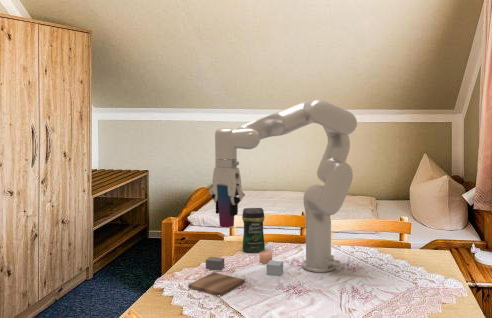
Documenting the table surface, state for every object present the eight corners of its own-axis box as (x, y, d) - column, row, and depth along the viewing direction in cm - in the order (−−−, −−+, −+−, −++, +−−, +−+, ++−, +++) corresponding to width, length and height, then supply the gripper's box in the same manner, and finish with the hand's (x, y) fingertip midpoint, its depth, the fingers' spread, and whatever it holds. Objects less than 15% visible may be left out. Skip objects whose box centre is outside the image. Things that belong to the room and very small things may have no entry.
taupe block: (224, 268, 182) (224, 258, 181) (220, 271, 178) (220, 261, 177) (210, 266, 184) (209, 256, 183) (205, 270, 180) (205, 259, 179)
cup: (233, 228, 163) (233, 186, 162) (214, 227, 165) (214, 185, 163) (238, 223, 170) (238, 182, 168) (220, 223, 172) (219, 182, 170)
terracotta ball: (274, 262, 187) (274, 252, 187) (268, 265, 183) (267, 255, 183) (263, 259, 190) (263, 250, 189) (257, 263, 186) (257, 253, 185)
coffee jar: (243, 253, 199) (242, 210, 196) (242, 248, 206) (241, 206, 204) (266, 252, 199) (265, 209, 197) (264, 247, 207) (263, 205, 205)
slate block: (283, 271, 176) (283, 261, 176) (279, 276, 172) (279, 265, 171) (270, 270, 178) (270, 260, 178) (266, 274, 173) (266, 264, 173)
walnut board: (244, 282, 166) (244, 279, 165) (220, 296, 154) (220, 292, 154) (213, 275, 174) (213, 272, 173) (188, 287, 162) (188, 284, 162)
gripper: (252, 164, 163) (252, 215, 165) (213, 161, 173) (214, 209, 175) (239, 166, 157) (239, 219, 159) (200, 163, 167) (201, 213, 169)
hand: (226, 213), depth 167 cm, fingers closed on cup, 6 cm apart
